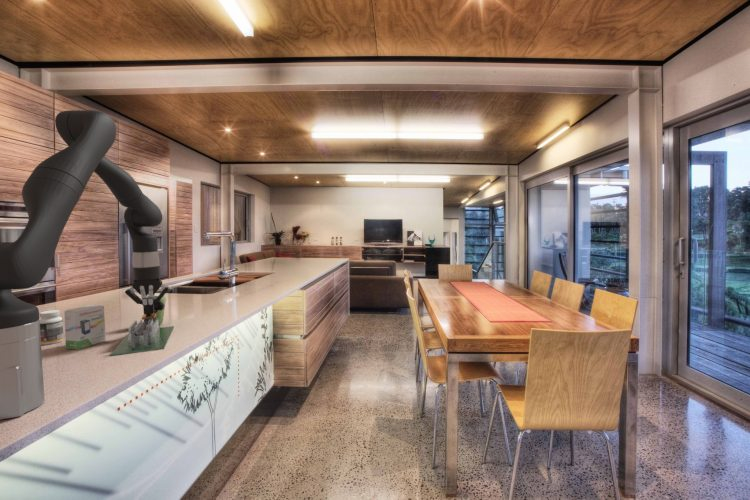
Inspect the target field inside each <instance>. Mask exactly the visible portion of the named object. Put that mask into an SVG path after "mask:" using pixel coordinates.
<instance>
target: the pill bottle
mask: <svg viewBox="0 0 750 500" xmlns="http://www.w3.org/2000/svg"><path fill="white" fill-rule="evenodd" d="M60 315H61V310H59V309H54V310H53V309H52V310H51V309H50V310H45V311H41V312H39V320H40V337H41V346H42V345H43V346H44V345H45V346H46V345H54V344H57V343H61V342H62V341H63V340H64V323H63V322H64V321H63V318H62V317H61V316H60Z"/></svg>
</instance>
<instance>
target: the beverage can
mask: <svg viewBox="0 0 750 500" xmlns="http://www.w3.org/2000/svg"><path fill="white" fill-rule="evenodd" d="M160 293H161V292H160ZM160 293H159V292H156V293H155V296H154V299H156V298H157V297H158V296H159V295H160ZM165 295H166V294H165ZM165 295H164V296H163V297H162V298H161V299H160V301H159V302H157V303H154V313H156V319H157V318H158V322H159V326H161V325H162V324H163V322H164V315H165V310H166V309H165V307H166V302H167V298H166V296H165ZM148 304H149V295H148ZM144 320H145V319H144ZM144 320H143V321H144Z"/></svg>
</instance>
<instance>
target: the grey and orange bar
mask: <svg viewBox="0 0 750 500" xmlns="http://www.w3.org/2000/svg"><path fill="white" fill-rule="evenodd" d="M155 316H156V313H153V314H152V315H151V316H146V314H144V313H143V314H142V317H141V320H142V325H141V327H140V328H139V330H138V332H137V333H135V336H142V335H143V331H144V330H145V329H146V325H147V324H148V323H149V321H150V319H154V318H155ZM144 319H145V320H144Z"/></svg>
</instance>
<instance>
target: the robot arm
mask: <svg viewBox="0 0 750 500" xmlns="http://www.w3.org/2000/svg"><path fill="white" fill-rule="evenodd" d="M54 120H55V121H54V124H55V129H56V132H57V133H58V135H59V136H60V138H61V139H62V140H63V142H64V143H65V144H66V145H67V147H64V148H63V149H61V150H59V151H58V152H56V153H54V154H52V155H51V156H49V157H48V158H46V159H44V160H42V161H41V162H40V163H38V164H37V165H36V167H35V168H34V169H33V170H32V172H31V174H30V175H29V176H28V178H27V180H26V181H25V182H24V184H23V186H22V189H21V197H22V201H23V204H24V207H25V210H26V212H27V215H28V221H27V223H26V225H25V228H24V229H23V231H22V232H21V234H20V235H19V237H17V238H16V240H15V241H12V242H11V241H10V242H9V241H7V242H6V241H5V242H3V241H2V242H0V420H6V419H11V418H18V417H21V416H23V415H25V413H29V412H30V411H33V410H34V409H36V408H39V407H40V406H42V405H43V404H44V402H45V399H46V398H45V383H44V371H43V357H42V356H43V355H42V353H43V352H42V345H41V337H40V310H39V308H38V306H37V305H35V304H33V303H29V302H26V301H24V300H22V299H19V298H18V297H17V296H15V295H14V294H13V291H12V290H24V289H30V288H33V287H36V286H37V285H38V284H40V283H41V281H42V280H43V279H44V277H45V276H46V275H47V273H48V270H49V269H50V266H51V263H52V260H53V258H54V256H55V252H56V251H57V247H58V244H59V241H60V238H61V236H62V233H63V232H64V229H65V227H66V225H67V223H68V221H69V218H70V217H71V215H72V213H73V211H74V209H75V207H77V204H78V203H79V201H80V199H81V197H82V196H83V193H84V191H85V189H86V186H87V184H88V183H89V181H90V179H91V177H92V176H93V174H94V173H95V174H96V175H97V176H98V178H100V179H101V181H103V183H104V184H105V185H106V186H107V188H108V189H109V190H110V192H111V193H112V195H113V196H114V197H115V199H116V200H117V202H118V203H119V204H120V205H121V206H122V207H123V208H124V207H125V210H124V213H123V219H124V223H125V226H126V228H127V230H128V232H129V236H130V238H131V243H132V244H131V246H132V258H131V259H132V260H131V261H132V272H133V274H132V277H133V282H132V286H131V287H129V288H127V289H126V290H125V291H124V294H126V295H127V296H128V297H129V298H130V299H131V300H132V301H134V303H135V304H137V305H142V308H143V315H144V314H146V316H151V315H152V314H153V313H154V303H157V302H159V301H160V299H161V298H162V297H163V296H164V295H166V294H167V292H168V291H169V289H170V286H168V285H165V284H163V281H162V280H161V269H160V268H161V265H160V264H161V263H160V255H159V248H158V246H159V245H158V237H157V236H156V234H154V233H152V234H151V233H148V232H146V231H145V229H144V227H145V228H146V227H147V228H148V227H149V228H154V227H159V225H161V223H162V222H163V214H162V211H161V208H159V207H158V205H157V204H156V203H155V202H154V201H152V200H151V199H150V198H149V197H148V196H147V195H145V194H144V193H143V191H142V189H141V188H140V186H139V185H138V183H137V181H136V180H135V179H134V177H133V176H132V175H131V174H130V173H129V172H128V171H126V170H125V169H123V168H122V167H121V166H120V165H117V164H116V163H115V162H114V161H112V160H111V159H109V158H108V157H106V154H107V153H108V152H109V151H110V149H111V148H112V146H113V145H114V143H115V140H116V137H117V126H116V123H115V121H114V119H113V118H112V117H111V116H110V115H109V114H108V113H105V112H104V111H99V110H93V109H92V110H91V109H89V110H88V109H87V110H86V109H85V110H80V109H79V110H75V109H74V110H63V111H60V112H58V113H57V114H56V116H55V119H54ZM159 290H160V295H159V296H158V297H157V298H156V299H154V296H155V293H158V291H159ZM136 292H137V293H136ZM137 294H138V295H140V296H138V295H137ZM148 296H149V304H148ZM140 297H141V298H140Z"/></svg>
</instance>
